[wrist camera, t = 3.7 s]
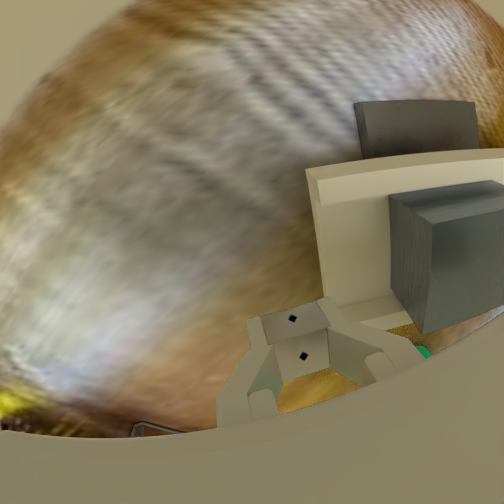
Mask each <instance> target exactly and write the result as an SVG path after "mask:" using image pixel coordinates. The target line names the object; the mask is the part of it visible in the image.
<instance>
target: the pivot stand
mask: <svg viewBox="0 0 504 504" xmlns="http://www.w3.org/2000/svg"><path fill="white" fill-rule="evenodd" d="M354 108H355V113H356V118H357V124H358V129H359V135H360V141H361V148H362V154H363V160H366V159H374V158H381V157H390V156H398V155H407V154H417V153H428V152H439V151H453V150H469V149H480V147H479V135H478V125H477V117H476V109H475V103H474V102H461V101H437V100H403V101H378V102H362V103H356V104H354Z"/></svg>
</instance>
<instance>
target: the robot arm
mask: <svg viewBox="0 0 504 504" xmlns="http://www.w3.org/2000/svg"><path fill="white" fill-rule="evenodd" d="M260 317H261V318H260ZM246 326H247V331H248V336H249V341H250V346H251V350H248V351H247V352H246V353H245V355H244V356H243V358H242V360H241V361H240V363H239V364H238V366H237V367H236V369H235V370H234V372H233V374H232V375H231V377H230V378H229V380H228V381H227V383H226V384H225V386H224V387H223V389H222V390H221V392H220V393H219V395H218V396H217V398H216V415H217V428H215V429H209V430H203V431H196V432H189V433H181V434H172V435H162V436H150V437H134V438H71V437H56V436H45V435H36V434H28V433H21V432H15V431H9V430H4V431H1V432H0V504H504V312H502V313H501V314H500V315H498V316H497V317H495V318H494V319H492V320H491V321H489V322H488V323H486V324H485V325H483V326H482V327H480V328H479V329H477V330H475V331H474V332H472V333H471V334H469V335H467V336H466V337H464V338H462V339H461V340H459V341H457V342H456V343H454V344H452V345H450V346H449V347H447V348H445V349H443V350H441V351H440V352H438V353H436V354H434V355H432V356H430V357H428V358H426V359H425V358H424V357H423V356H422V354H421V353H420V352H419V351H418V350H417V348H416V347H415V346H414V345H413V344H412V343H411V341H410V340H409V339H408V338H405V337H402V336H399V335H395V334H392V333H389V332H386V331H383V330H380V329H377V328H374V327H371V326H368V325H365V324H362V323H359V322H356V321H353V320H348V321H346V319H345V318H344V316H343V315H342V314H341V312H340V311H339V309H338V308H337V306H336V305H335V304H334V302H333V301H332V300H331V298H330V297H328V296H327V297H324V298H321V299H318V300H315V301H313V302H310V303H307V304H303V305H300V306H297V307H294V308H290V309H286V310H282V311H278V312H274V313H270V314H266V315H262V316H258V317H254V318H251V319H247V320H246ZM327 368H331V369H332V370H334V371H336V372H337V373H339V374H341V375H342V376H344V377H346V378H347V379H349V380H351V381H352V382H354V383H356V384H358V385H359V386H361V387H362V388H359V389H357V390H354V391H352V392H349V393H346V394H344V395H341V396H338V397H335V398H332V399H329V400H326V401H323V402H320V403H317V404H314V405H311V406H308V407H304V408H301V409H298V410H294V411H291V412H287V413H284V414H280V415H279V412H278V408H277V405H276V401H277V398H278V396H279V393H280V391H281V388H282V385H283V382H284V381H288V380H291V379H294V378H297V377H300V376H303V375H306V374H310V373H313V372H317V371H320V370H323V369H327Z"/></svg>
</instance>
